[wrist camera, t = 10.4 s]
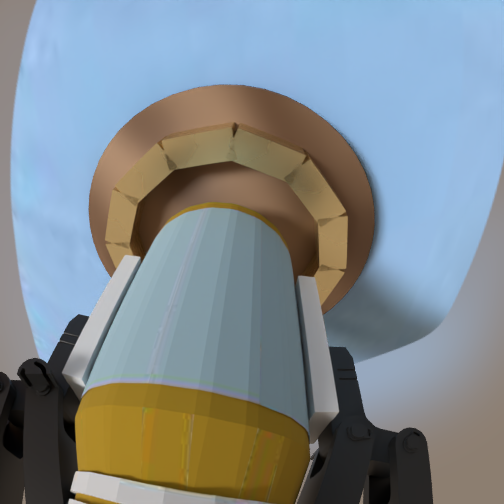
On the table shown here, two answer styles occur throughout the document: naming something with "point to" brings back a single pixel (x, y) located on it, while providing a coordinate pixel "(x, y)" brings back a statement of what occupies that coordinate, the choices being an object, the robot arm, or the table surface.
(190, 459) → the bottle
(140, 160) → the ring tray
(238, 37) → the table surface
